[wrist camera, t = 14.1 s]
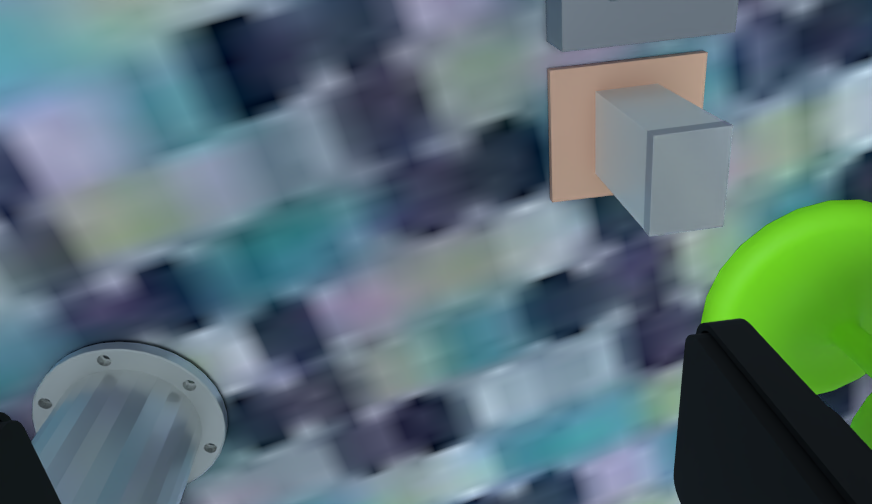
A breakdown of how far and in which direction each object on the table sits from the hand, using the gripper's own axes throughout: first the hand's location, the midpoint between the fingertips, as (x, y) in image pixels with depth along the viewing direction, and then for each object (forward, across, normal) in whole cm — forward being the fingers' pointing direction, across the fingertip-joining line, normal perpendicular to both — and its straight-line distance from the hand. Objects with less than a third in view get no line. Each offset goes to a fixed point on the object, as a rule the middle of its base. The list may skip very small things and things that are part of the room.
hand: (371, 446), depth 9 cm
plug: (+30, -14, +5) cm, 33 cm away
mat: (+30, -14, +6) cm, 34 cm away
